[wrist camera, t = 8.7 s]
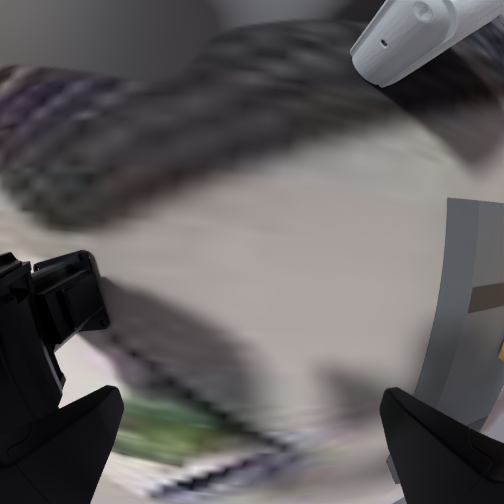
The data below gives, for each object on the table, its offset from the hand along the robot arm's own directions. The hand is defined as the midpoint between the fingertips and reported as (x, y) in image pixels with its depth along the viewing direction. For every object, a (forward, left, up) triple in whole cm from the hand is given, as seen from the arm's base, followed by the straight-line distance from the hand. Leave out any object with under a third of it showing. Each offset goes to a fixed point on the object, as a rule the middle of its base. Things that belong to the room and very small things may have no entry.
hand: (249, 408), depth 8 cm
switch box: (+18, -12, -12) cm, 25 cm away
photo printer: (+15, +16, -12) cm, 25 cm away
